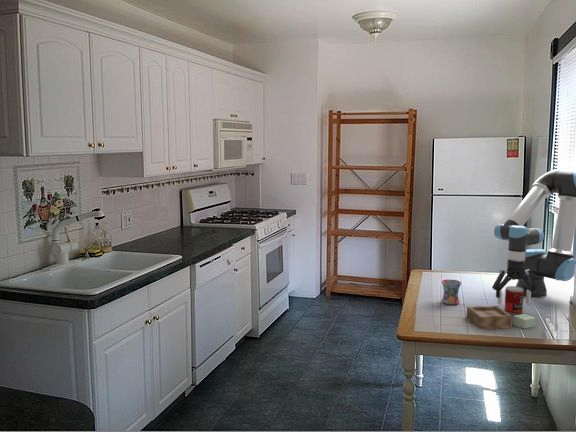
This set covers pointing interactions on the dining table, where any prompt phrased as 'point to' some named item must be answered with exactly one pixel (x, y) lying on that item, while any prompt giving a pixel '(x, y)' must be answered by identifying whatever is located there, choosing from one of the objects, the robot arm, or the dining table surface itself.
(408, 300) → the dining table surface
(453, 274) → the dining table surface
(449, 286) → the mug
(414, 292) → the dining table surface
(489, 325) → the wooden tray
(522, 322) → the brick
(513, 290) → the canned food
